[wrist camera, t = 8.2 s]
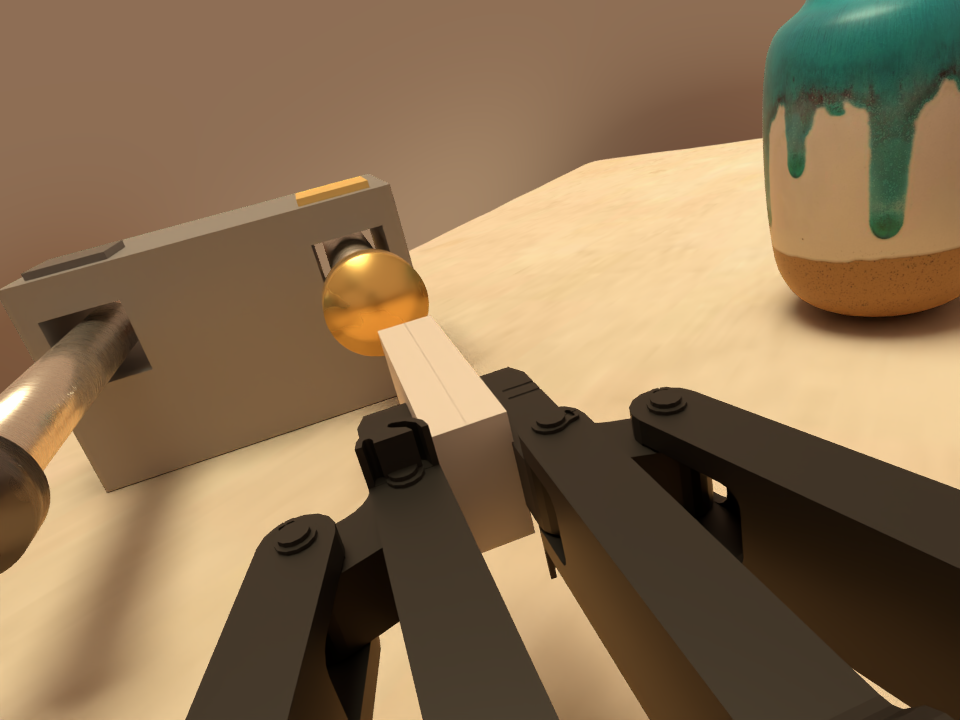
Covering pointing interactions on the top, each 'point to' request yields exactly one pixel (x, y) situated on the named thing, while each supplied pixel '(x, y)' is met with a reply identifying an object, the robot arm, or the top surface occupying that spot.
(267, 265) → the console
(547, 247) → the top surface
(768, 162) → the vase
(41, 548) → the top surface
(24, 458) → the plunger grey
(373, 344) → the plunger ochre
